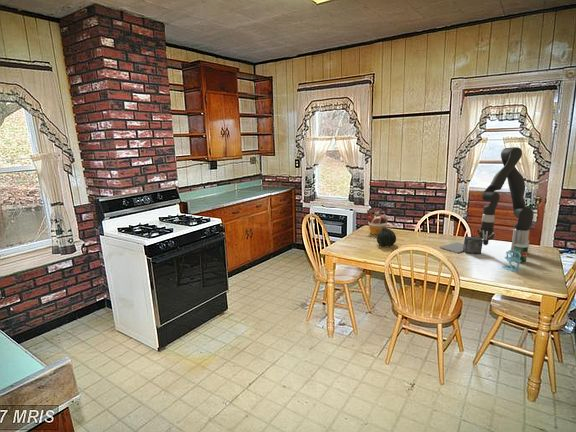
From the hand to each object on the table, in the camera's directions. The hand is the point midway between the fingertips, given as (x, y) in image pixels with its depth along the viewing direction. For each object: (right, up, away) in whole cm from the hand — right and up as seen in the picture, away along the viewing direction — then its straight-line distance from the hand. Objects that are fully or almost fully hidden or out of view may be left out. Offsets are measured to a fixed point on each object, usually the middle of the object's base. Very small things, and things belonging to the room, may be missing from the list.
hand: (485, 244), depth 240 cm
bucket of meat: (-59, +5, +65) cm, 87 cm away
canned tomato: (+17, -10, -9) cm, 22 cm away
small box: (-4, -6, +10) cm, 12 cm away
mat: (-10, -4, +20) cm, 22 cm away
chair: (+4, -14, -22) cm, 26 cm away
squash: (-60, -3, +31) cm, 67 cm away
